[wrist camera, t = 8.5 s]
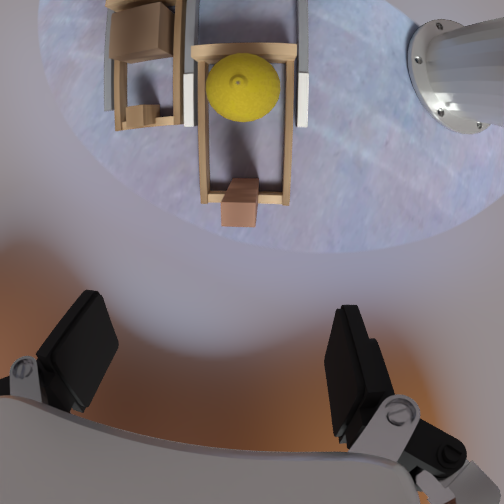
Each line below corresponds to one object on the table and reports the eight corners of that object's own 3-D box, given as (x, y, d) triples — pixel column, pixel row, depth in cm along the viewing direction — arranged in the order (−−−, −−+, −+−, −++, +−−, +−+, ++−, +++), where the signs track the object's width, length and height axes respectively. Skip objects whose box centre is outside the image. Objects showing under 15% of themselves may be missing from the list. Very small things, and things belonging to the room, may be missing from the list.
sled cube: (187, -5, 18) (175, -20, 15) (185, 123, 24) (171, 126, 21) (125, 8, 18) (106, -3, 15) (123, 129, 25) (102, 134, 21)
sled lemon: (292, 53, 21) (302, 32, 14) (288, 200, 27) (294, 231, 21) (202, 54, 21) (177, 35, 15) (204, 198, 28) (184, 228, 21)
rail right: (121, 9, 18) (114, 5, 17) (118, 109, 24) (111, 110, 22) (114, 10, 18) (107, 7, 17) (111, 110, 24) (104, 111, 22)
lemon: (204, 101, 23) (178, 98, 16) (237, 52, 21) (225, 29, 14) (256, 132, 24) (251, 140, 17) (290, 83, 22) (300, 71, 15)
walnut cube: (176, 16, 19) (160, 1, 15) (174, 56, 21) (157, 48, 17) (133, 24, 19) (111, 13, 15) (131, 63, 22) (108, 58, 18)
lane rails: (305, -8, 18) (307, -15, 16) (304, 126, 24) (307, 127, 22) (191, -6, 18) (186, -12, 17) (189, 125, 24) (184, 126, 23)
